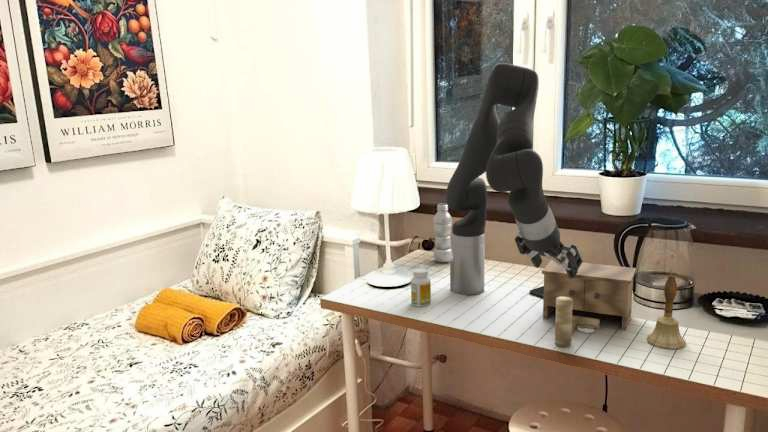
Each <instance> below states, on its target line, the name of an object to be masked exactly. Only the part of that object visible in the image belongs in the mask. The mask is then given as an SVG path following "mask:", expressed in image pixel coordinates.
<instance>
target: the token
mask: <svg viewBox="0 0 768 432" xmlns="http://www.w3.org/2000/svg"><path fill="white" fill-rule="evenodd" d="M576 331H577V332H578V333H580V334H583V335H593V334H596V332H597V329H596V327H595V326H594V325H591V324H578V325H577V327H576Z"/></svg>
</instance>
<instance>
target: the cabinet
mask: <svg viewBox="0 0 768 432" xmlns="http://www.w3.org/2000/svg"><path fill="white" fill-rule="evenodd" d="M565 262H566V263H568V262H569V260H565ZM577 271H578V272H577V274H576V275H575V277H573V279H571V278H569V277H568V274H567V272H566V268H564V267H563V266H562V265H561V264H560V265H558V264H557V263H556V262H554V261H553V260H552V259H551V260H549V262H547V264H546V265H545V267H544V268H543V269H541V274H542V275H543V286H544V299H543V298H542V300H543V302H542V304H543V305H542V307H543V308H542V318H543V319H548V318H549V316H550V315H551V313H552V312H553V310H554V309H556V298H557V297H570V298H572V299H573V305H572V311H573V310H574V311H580V312H587V313H594V314H595V313H596V314H602V315H603V314H604V315H608V316H609V315H610V316H617V317H622V320H621V330H622V331H627V329H628V326H629V322H630V321H631V317H632V305H633V290H634V289H633V288H634V277H635V275H636V272H637V268H636V267H628V266H621V265H608V264H599V263H591V262H584V261H583V262H582V264H581V265H580V267H579V269H578V270H577Z"/></svg>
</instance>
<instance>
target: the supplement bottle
mask: <svg viewBox="0 0 768 432" xmlns="http://www.w3.org/2000/svg"><path fill="white" fill-rule="evenodd" d="M412 272H413V273H412V275H413V276H412V278H411V279H410V292H411V294H410V295H411V297H410V298H411V300H410V301H411V305H412V306H414V307H417V308H423V307H428V306H430V305H431V304H432V303H431V302H432V297H431V296H432V294H431V293H432V292H431V290H432V289H431V284H432V283H431V279H430V277H429V276H428V274H429V271H428V269H426V268H415V269H413V271H412Z"/></svg>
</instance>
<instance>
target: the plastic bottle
mask: <svg viewBox="0 0 768 432" xmlns="http://www.w3.org/2000/svg"><path fill="white" fill-rule="evenodd" d="M436 206H437V208H436V210H437V212H436V213H435V215H434V217H433V228H434V237H435V239H434V240H435V241H434V250H433V257H434V258H433V259H434V260H435V262H438V263H450V259H452V258H453V247H452V240H451V239H452V238H451V236H452V227H453V218H452V216H451V214H450V212H449V206H448V205H447V203H445V202H444V203H438V204H437V205H436Z"/></svg>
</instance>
